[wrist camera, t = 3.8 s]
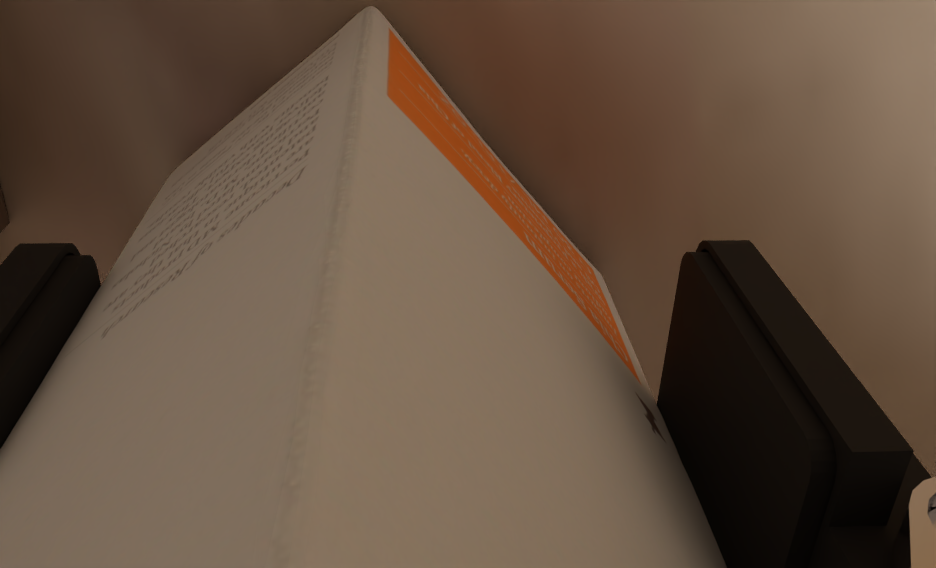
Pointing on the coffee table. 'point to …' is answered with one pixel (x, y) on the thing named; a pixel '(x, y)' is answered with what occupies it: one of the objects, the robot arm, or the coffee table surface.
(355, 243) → the skincare box
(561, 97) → the coffee table surface
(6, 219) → the socket block
